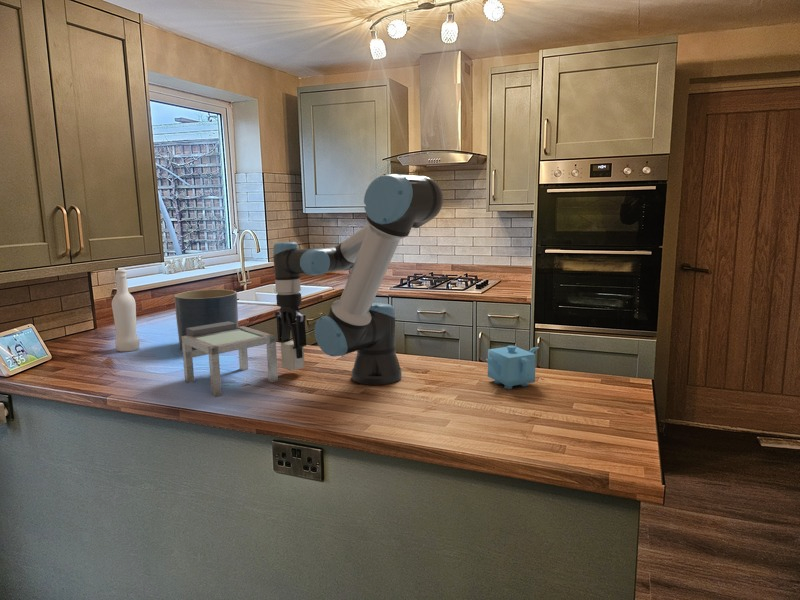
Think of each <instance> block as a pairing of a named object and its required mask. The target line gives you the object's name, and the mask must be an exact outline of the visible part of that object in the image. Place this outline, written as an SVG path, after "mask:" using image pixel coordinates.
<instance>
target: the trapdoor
mask: <svg viewBox="0 0 800 600" xmlns="http://www.w3.org/2000/svg"><path fill="white" fill-rule="evenodd" d="M186 333H187V335H189V336H191V337H194V338H197V339H199V340H202V341H205V342H207V343H210V344H212V345H220V344H225V343H231V342H236V341H241V340H247V339H252V338H257V337H261V336H258V335H254V334H251V333H248V332H245V331H241V330H240V329H236V323H233V322H229V321H228V322H221V323H215V324H209V325H203V326H196V327H190V328H186Z"/></svg>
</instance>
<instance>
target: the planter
mask: <svg viewBox="0 0 800 600" xmlns="http://www.w3.org/2000/svg"><path fill="white" fill-rule="evenodd" d="M173 298H174V306H175V307H174V309H175V317H176V318H175V319H176V326H177V328H176V329H177V335H178V344H179V349H180V350H181V351H182V352H183V349H182V337H181V336H187V333H186V328H190V327H196V326H203V325H209V324H215V323H221V322H228V321H229V322H233V323H236V329H237V327H239V310H238V308H239V307H238V293H237V291H236V290H233V289H215V288H214V289H199V290H189V291H183V292H180V293H176V294H175V295H174V297H173ZM192 349H196V348H193V347H192Z"/></svg>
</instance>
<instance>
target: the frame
mask: <svg viewBox="0 0 800 600" xmlns="http://www.w3.org/2000/svg"><path fill="white" fill-rule="evenodd" d="M237 329H240V330H241V331H245V332H248V333H251V334H254V335H258V336H261V337H257V338H252V339H247V340H241V341H236V342H231V343H225V344H220V345H212V344H210V343H207V342H205V341H202V340H199V339H197V338H194V337H191V336H189V335H187V336H181V337H182V349H183V351H182V360H183V372H184V382H185V383H187V384H189V383H194V382H195V373H194V362H193V360H194V359H193V358H196V357H201V356H206V355H208V363H209V377H210V390H211V391H210V392H211V396H212V397H214V398H217V397H221V396H222V382H221V381H222V380H221V367H220V366H221V365H220V354H224V353H230V352H235V351H238V362H239V365H238V366H239V370H240V371H241V370H242V371H245V370H249V358H248V349H249V348H254V347H259V346H264V345H266V359H267V376H268V382H270V383H276V382H278V380H279V376H278V362H277V361H278V359H277V357H278V356H277V339H276V335H274V334H270V333H268V332H264V331H261V330H258V329H254V328H251V327H248V326H244V325H241V326H240V325H239V326H238V327H237ZM192 347H193V348H196V349H192Z"/></svg>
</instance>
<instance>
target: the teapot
mask: <svg viewBox="0 0 800 600" xmlns="http://www.w3.org/2000/svg"><path fill="white" fill-rule="evenodd" d="M539 348H540V347H539V346H535V347H532V348H530V350H529V351H528V350H526V349H523V348H520V347H518V346H516V345H507V346H505V347H496V348H488V349H487V358H485V361H486V363H487V377H489V378H491V379H492V380H493V384H502V385H504V389H506V390H512V389H513V386H521V387H529V384H532V383H535V382H536V364H537V363H536V361H537V360H536V359H537V358H536V357H537V355H536V353H535V352H536V351H537V350H538V349H539Z"/></svg>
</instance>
